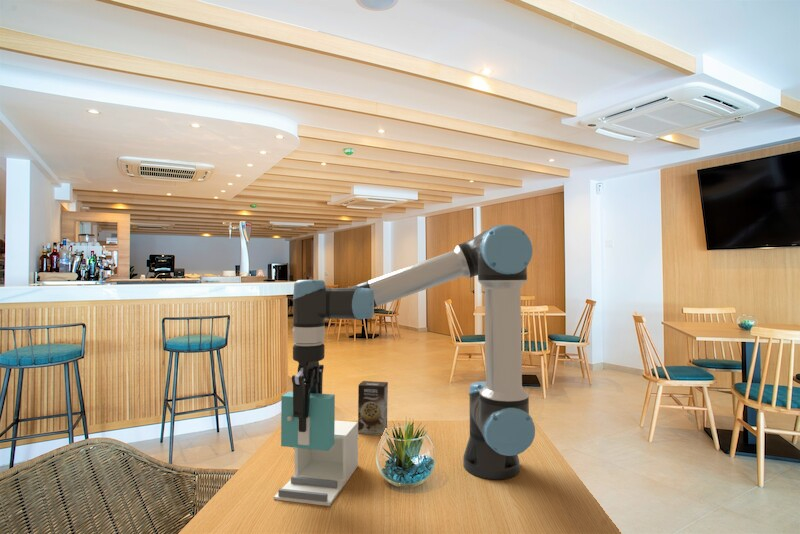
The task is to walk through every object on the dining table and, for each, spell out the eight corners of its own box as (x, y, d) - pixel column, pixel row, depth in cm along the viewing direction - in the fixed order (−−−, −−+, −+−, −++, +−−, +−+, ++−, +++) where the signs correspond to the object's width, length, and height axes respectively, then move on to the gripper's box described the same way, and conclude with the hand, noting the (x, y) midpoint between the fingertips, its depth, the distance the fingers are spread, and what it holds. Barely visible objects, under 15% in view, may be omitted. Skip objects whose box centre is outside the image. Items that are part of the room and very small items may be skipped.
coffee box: (357, 433, 142) (357, 384, 143) (362, 426, 149) (362, 380, 149) (384, 435, 141) (384, 386, 141) (388, 428, 147) (388, 381, 147)
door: (334, 444, 104) (334, 394, 105) (327, 451, 100) (327, 400, 100) (288, 439, 107) (289, 391, 107) (279, 447, 102) (280, 396, 103)
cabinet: (357, 465, 119) (357, 422, 119) (329, 506, 98) (329, 453, 98) (310, 461, 122) (310, 418, 122) (273, 499, 101) (273, 448, 101)
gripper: (309, 337, 113) (308, 426, 113) (277, 348, 96) (276, 453, 96) (336, 338, 112) (335, 429, 111) (308, 350, 95) (307, 456, 95)
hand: (308, 440), depth 104 cm, fingers closed on door, 4 cm apart
